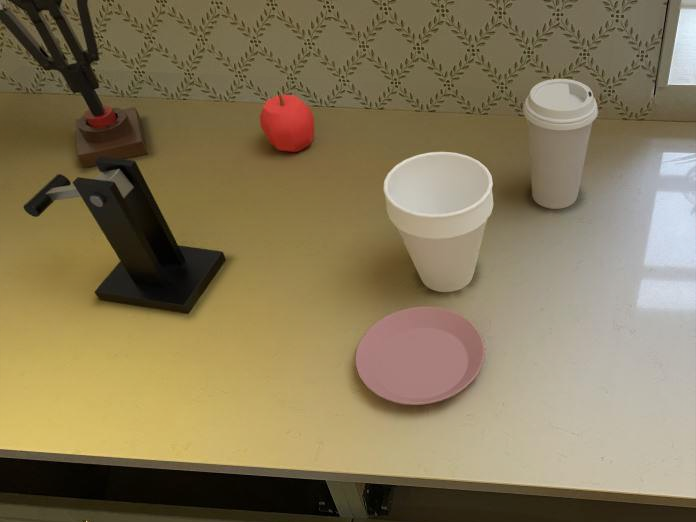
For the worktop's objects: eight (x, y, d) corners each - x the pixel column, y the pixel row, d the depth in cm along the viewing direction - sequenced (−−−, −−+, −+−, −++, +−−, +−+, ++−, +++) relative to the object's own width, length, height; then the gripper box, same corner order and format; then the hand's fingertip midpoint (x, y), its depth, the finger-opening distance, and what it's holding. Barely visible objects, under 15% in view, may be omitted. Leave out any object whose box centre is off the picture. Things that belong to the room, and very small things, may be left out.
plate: (382, 433, 68) (379, 422, 66) (343, 341, 76) (339, 329, 74) (505, 386, 71) (505, 375, 70) (456, 303, 80) (455, 291, 78)
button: (89, 119, 100) (83, 108, 99) (116, 113, 101) (111, 102, 100) (90, 132, 98) (84, 121, 96) (118, 125, 99) (113, 115, 97)
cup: (477, 316, 78) (472, 225, 67) (383, 296, 80) (364, 204, 70) (506, 252, 85) (506, 160, 75) (419, 235, 88) (407, 143, 77)
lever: (34, 220, 74) (17, 202, 72) (66, 189, 78) (50, 172, 76) (113, 209, 70) (97, 190, 68) (143, 177, 74) (129, 158, 72)
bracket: (99, 300, 80) (24, 192, 68) (143, 247, 86) (81, 139, 74) (188, 313, 79) (128, 205, 66) (226, 259, 85) (178, 151, 72)
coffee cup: (576, 222, 89) (586, 120, 77) (511, 206, 91) (512, 105, 80) (596, 183, 95) (608, 83, 83) (535, 169, 97) (538, 70, 85)
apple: (299, 164, 98) (285, 114, 92) (257, 151, 100) (240, 102, 94) (329, 137, 103) (318, 88, 96) (288, 126, 105) (274, 77, 98)
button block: (81, 132, 104) (68, 108, 101) (141, 119, 106) (129, 95, 103) (85, 168, 98) (71, 144, 95) (147, 154, 100) (136, 130, 97)
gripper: (-62, -54, 75) (51, 132, 94) (59, -71, 79) (145, 112, 97) (-57, -74, 80) (50, 108, 98) (58, -90, 83) (140, 89, 101)
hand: (97, 110), depth 98 cm, fingers closed
